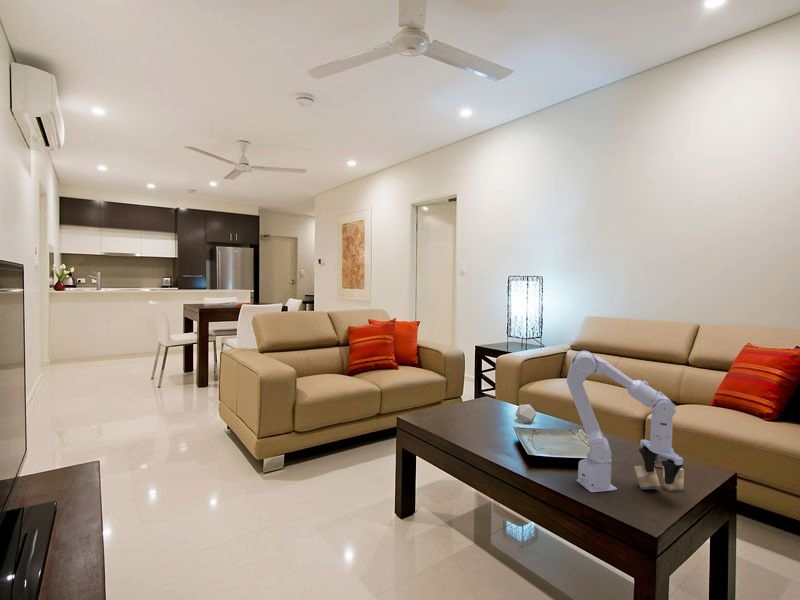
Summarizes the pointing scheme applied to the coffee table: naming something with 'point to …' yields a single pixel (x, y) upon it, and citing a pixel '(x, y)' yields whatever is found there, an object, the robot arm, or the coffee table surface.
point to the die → (525, 413)
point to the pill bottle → (660, 460)
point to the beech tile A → (647, 478)
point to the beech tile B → (677, 483)
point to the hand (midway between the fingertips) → (659, 477)
